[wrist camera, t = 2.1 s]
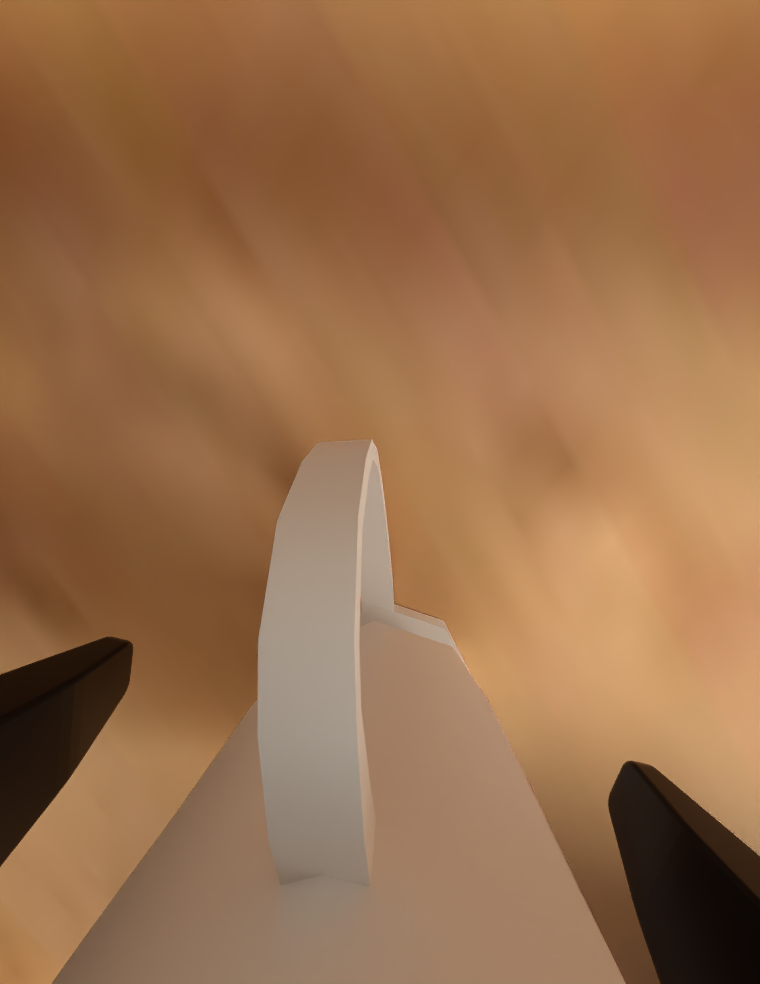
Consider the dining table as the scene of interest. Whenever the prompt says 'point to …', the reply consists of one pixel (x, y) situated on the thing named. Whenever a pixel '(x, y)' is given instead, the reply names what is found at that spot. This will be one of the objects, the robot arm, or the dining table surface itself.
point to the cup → (351, 798)
